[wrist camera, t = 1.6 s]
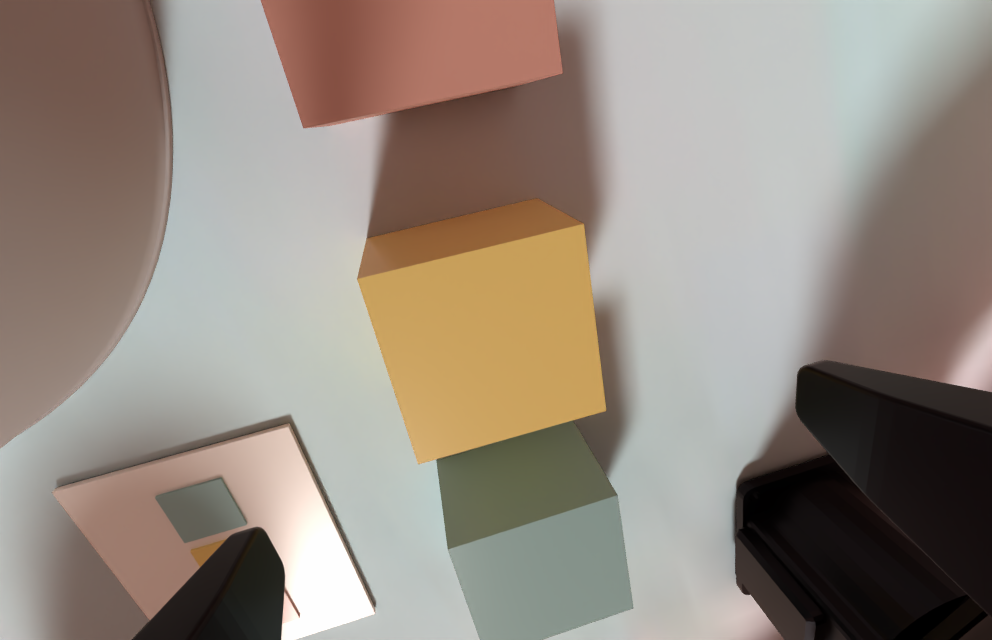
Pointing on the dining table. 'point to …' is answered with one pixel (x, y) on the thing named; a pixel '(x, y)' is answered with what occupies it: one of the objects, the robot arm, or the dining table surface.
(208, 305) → the dining table surface
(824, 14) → the dining table surface
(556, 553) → the teal base brick
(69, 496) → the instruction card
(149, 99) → the kettle
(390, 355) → the mustard brick
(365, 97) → the terracotta brick
